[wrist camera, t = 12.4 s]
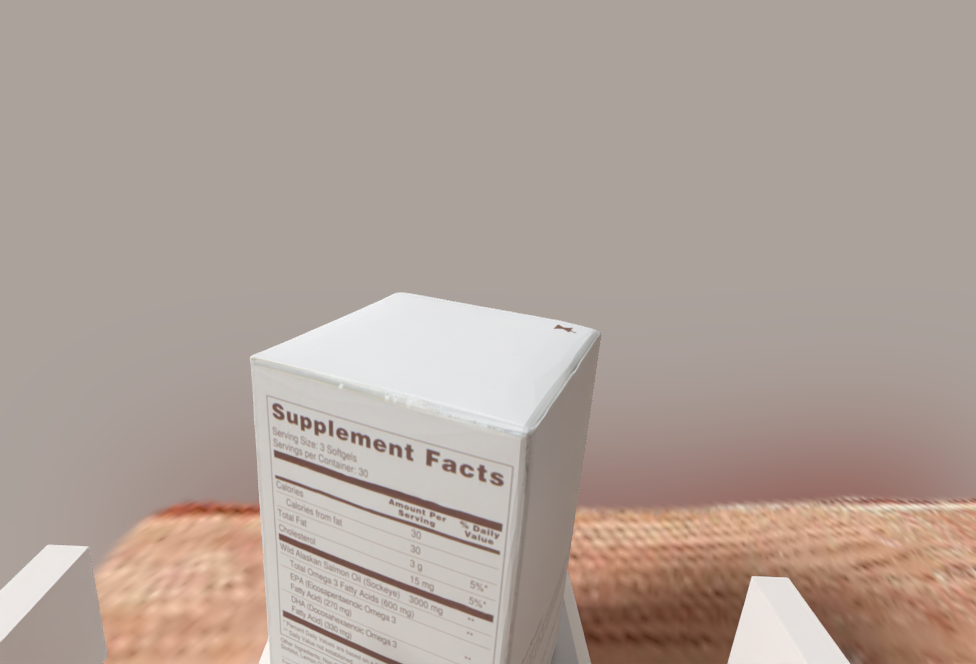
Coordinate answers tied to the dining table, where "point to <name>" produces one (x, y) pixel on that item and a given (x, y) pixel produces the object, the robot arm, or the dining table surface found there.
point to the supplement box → (421, 483)
